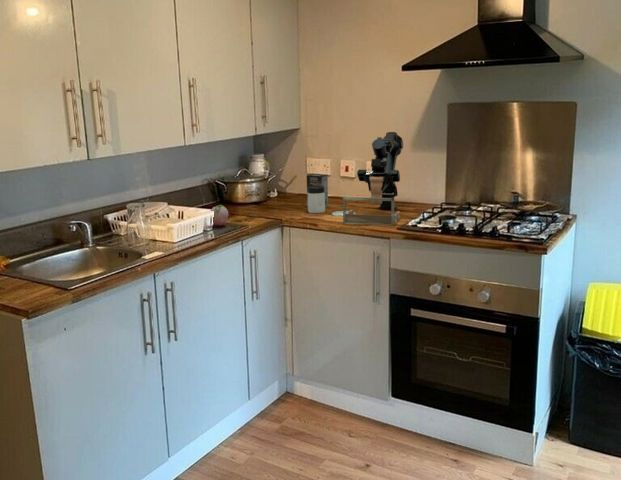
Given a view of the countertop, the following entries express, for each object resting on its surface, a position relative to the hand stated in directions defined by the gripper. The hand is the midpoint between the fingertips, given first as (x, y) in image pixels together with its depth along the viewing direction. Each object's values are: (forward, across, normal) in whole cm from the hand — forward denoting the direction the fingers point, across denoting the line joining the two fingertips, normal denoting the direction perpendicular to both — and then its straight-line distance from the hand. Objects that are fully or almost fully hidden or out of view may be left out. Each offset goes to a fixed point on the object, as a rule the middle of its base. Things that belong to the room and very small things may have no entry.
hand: (375, 190), depth 283 cm
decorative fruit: (+29, -64, -12) cm, 71 cm away
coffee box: (-8, -35, +27) cm, 45 cm away
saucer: (+4, -17, +14) cm, 22 cm away
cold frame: (+14, 0, +3) cm, 15 cm away
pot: (+3, 0, +5) cm, 6 cm away
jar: (+1, -32, +17) cm, 36 cm away
